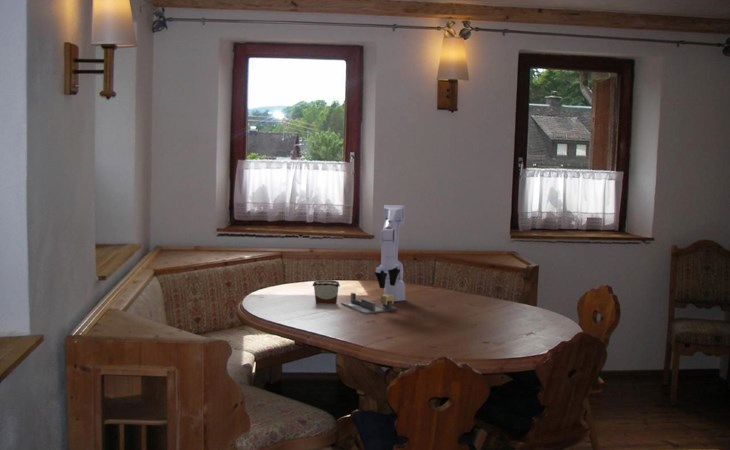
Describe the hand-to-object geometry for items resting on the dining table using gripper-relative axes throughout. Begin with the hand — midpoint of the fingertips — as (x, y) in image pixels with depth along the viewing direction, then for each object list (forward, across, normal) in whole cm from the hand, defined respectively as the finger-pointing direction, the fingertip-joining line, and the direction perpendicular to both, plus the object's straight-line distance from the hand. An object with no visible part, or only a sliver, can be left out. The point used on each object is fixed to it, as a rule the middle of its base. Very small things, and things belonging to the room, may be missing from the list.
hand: (387, 286), depth 339 cm
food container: (+10, +8, -28) cm, 31 cm away
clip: (+7, 0, 0) cm, 7 cm away
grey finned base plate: (+10, 0, 0) cm, 10 cm away
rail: (+10, +6, -10) cm, 15 cm away
